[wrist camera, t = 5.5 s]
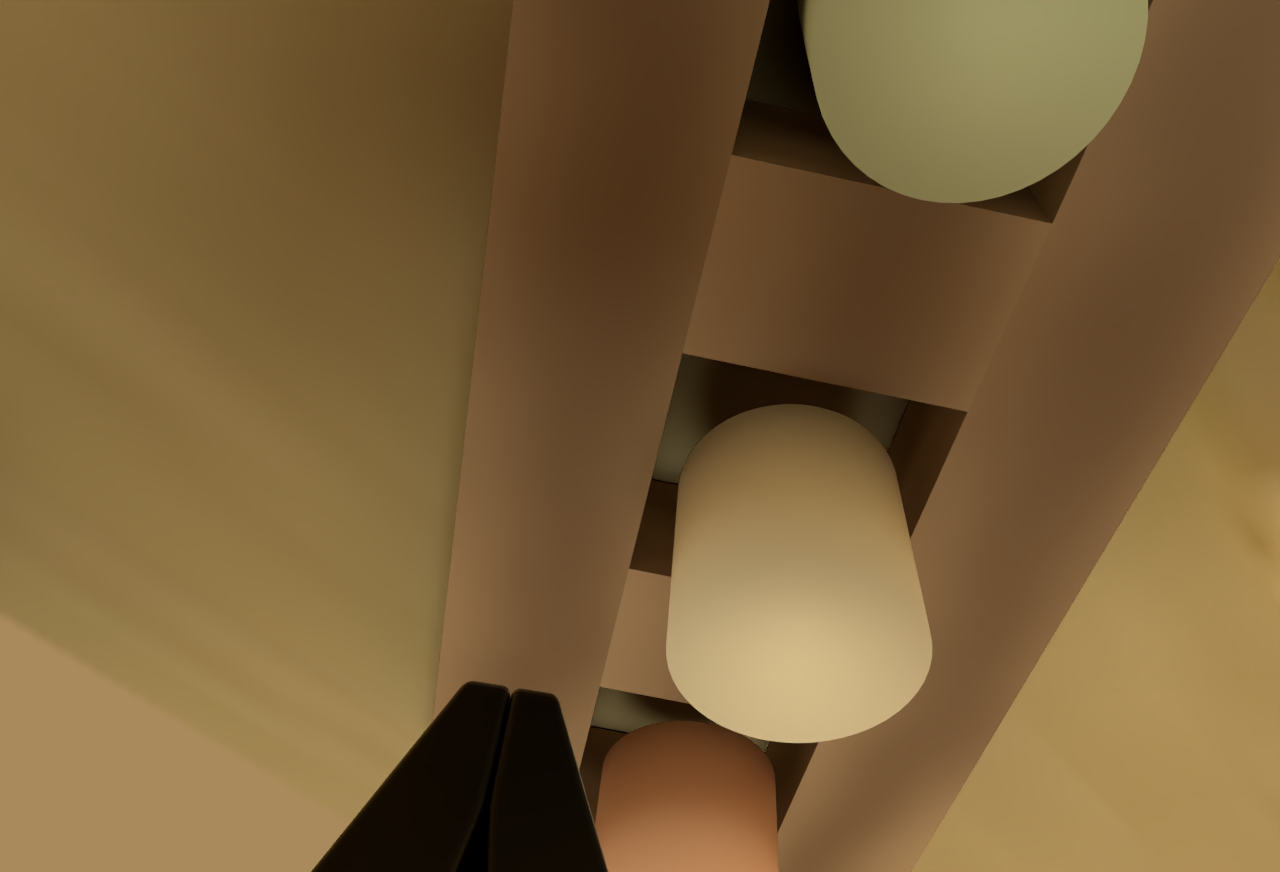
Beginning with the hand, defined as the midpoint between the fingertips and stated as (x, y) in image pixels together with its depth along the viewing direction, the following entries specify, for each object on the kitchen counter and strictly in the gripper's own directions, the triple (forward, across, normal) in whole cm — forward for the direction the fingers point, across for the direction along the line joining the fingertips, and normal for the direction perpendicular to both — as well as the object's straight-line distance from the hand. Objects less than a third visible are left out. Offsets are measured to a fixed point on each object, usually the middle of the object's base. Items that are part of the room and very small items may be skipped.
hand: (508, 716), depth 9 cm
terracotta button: (+9, -4, +12) cm, 16 cm away
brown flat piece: (+12, -4, +4) cm, 13 cm away
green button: (+11, -4, -5) cm, 13 cm away
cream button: (+9, -4, +4) cm, 10 cm away
